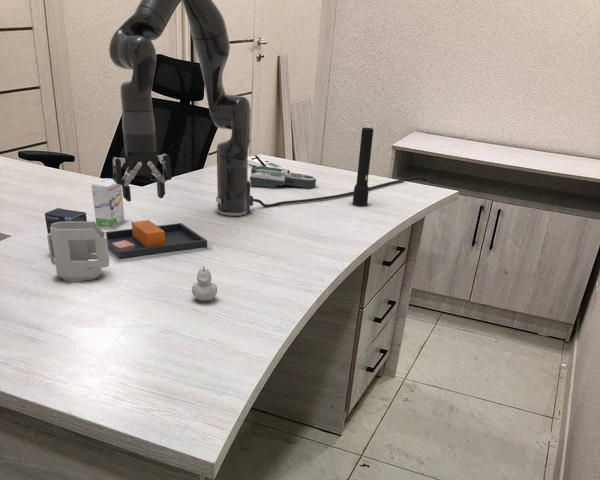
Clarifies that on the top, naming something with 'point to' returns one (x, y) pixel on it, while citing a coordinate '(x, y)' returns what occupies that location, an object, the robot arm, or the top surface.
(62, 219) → the box
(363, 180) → the flashlight
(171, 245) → the tray
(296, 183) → the communication device
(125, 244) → the pink block
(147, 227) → the orange rectangular block
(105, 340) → the top surface
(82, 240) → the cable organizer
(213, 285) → the rubber duck
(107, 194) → the ink box
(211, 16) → the robot arm
